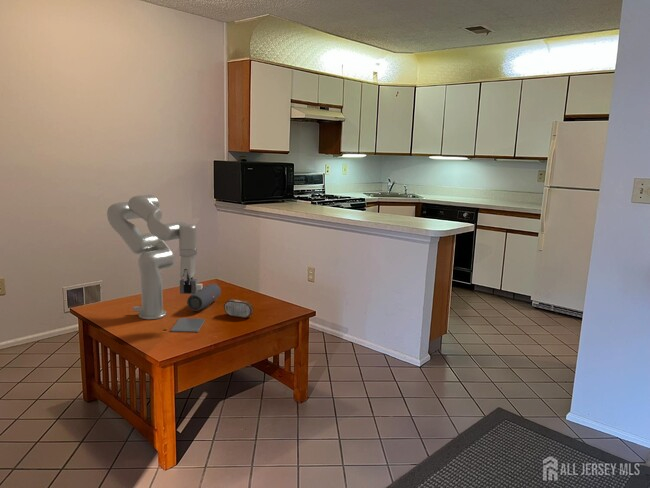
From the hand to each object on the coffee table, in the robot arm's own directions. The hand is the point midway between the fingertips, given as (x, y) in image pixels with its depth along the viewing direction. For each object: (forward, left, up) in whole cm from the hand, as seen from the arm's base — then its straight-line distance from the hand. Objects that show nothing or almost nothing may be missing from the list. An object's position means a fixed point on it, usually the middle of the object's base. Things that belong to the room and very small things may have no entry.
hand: (188, 291), depth 218 cm
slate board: (0, 0, -17) cm, 17 cm away
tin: (+21, +15, -17) cm, 30 cm away
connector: (+1, 0, -1) cm, 1 cm away
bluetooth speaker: (+2, +29, -17) cm, 33 cm away
